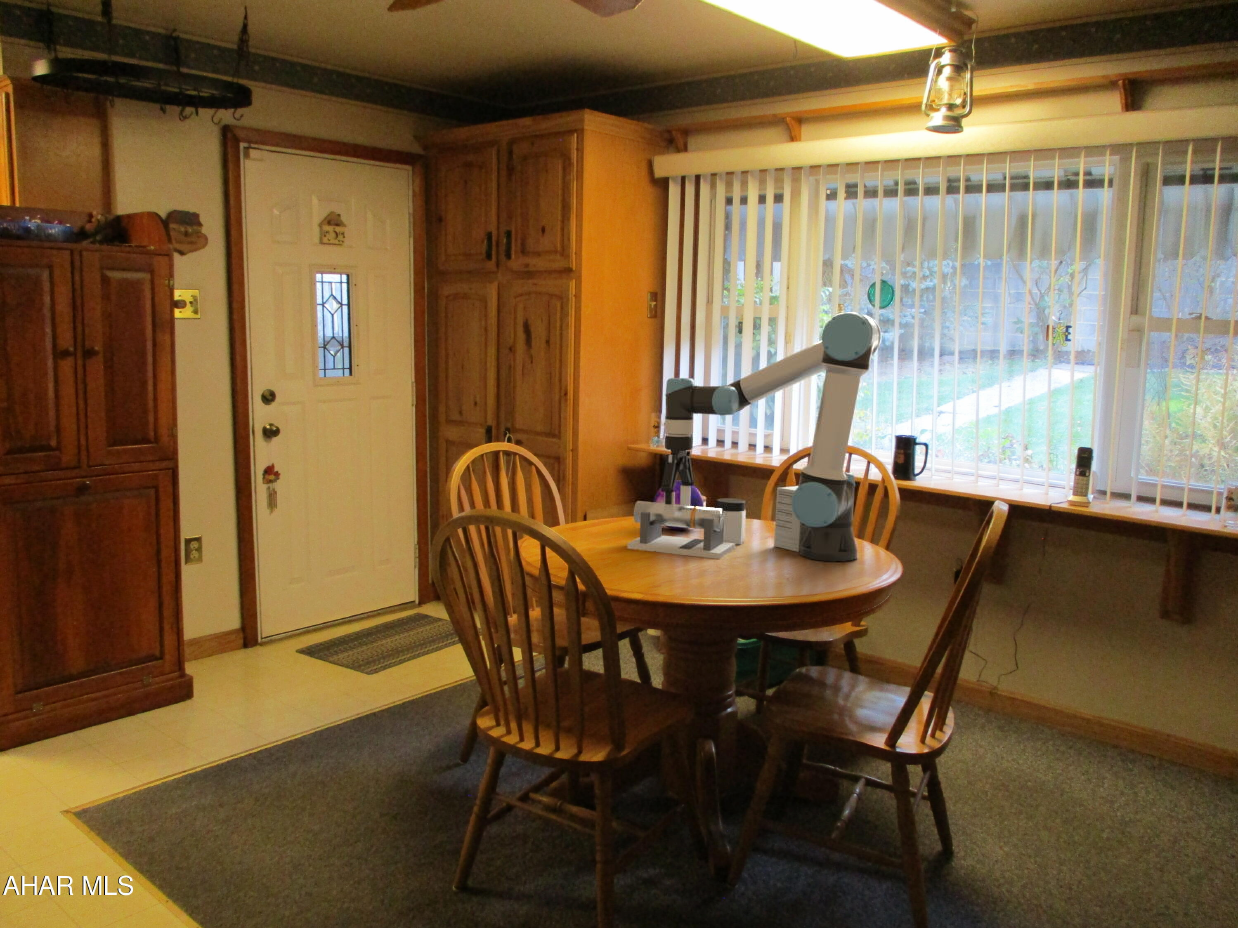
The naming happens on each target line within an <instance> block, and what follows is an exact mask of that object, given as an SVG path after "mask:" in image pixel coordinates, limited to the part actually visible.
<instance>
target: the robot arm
mask: <svg viewBox="0 0 1238 928" xmlns="http://www.w3.org/2000/svg"><path fill="white" fill-rule="evenodd" d="M881 341H882V330H881V328H880V325H879V324H878V322H877V321H876V320H875V319H874V318H872V317H871V316H869V315H867V314H862V313H859V312H856V311H844V312H842V313H838V314H836V315H834V316H833V317H831V318H830V319H829V320H828V321H827V323H825V325H824V328H823V330H822V333H821V340H820V341H817V342H816V343H813V344H812V345H808V346H807V347H805V348H803V349H800V350H799V351H796V352H794V353H793V354H790V355H789V356H785V357H783V358H782V359H780V360H778V361H776V362H774V363H771V364H769V365H768V366H765V367H763V368H761V369H758V370H757V371H754V372H753V373H750V374H748V375H746V376H744V377H742V378H740V379H737V380H735V381H733V382H731V383H729V384H726V385H715V386H714V385H712V386H711V385H708V386H707V385H695V380H694V379H693V378H690V377H689V378H686V377H671V378H668V379H667V380H666V387H665V394H664V397H665V417H664V418H665V422H663V426H664V428H665V430H664V433H665V434H666V435H665V436H664V449H665V450H667V451H670V454H665V455H666V456H665V463H664V464H665V465H664V471H663V476H662V481H661V487H660V488H661V492H664V516H670V517H674V511H675V492H673V491H674V487H675V483H676V480H678V475H679V478H680V480H681V482H682V485H684V486H681V494H680V505H687V506H690V496H691V486H695V482H694V474H693V467H692V461H691V450H692V449H693V443H694V441H693V440H694V438H693V436H692V435H693V434H694V415H711V416H712V415H714V416H715V415H716V416H721V417H722V416H732V415H734V414H735V413H738V412H741V411H742V410H743V409H745V408H746V407H749V406H750V405H752V404H754V403H756V402H758V401H761V400H763V399H765V398H768V397H769V396H771V395H774V394H776V393H778V392H781V391H783V390H785V389H788V388H789V387H791V386H793V385H796V384H798V383H800V382H802V381H805V380H807V379H809V378H811V377H813V376H815V375H816V376H817V374H820V373H823V372H824V371H825V375H824V382H823V386H822V392H821V397H820V402H819V408H818V413H817V418H816V423H815V424H816V425H815V429H814V430H815V431H814V433H813V434H814V435H813V439H812V440H813V441H812V446H811V450H810V455H809V456H810V457H809V461H808V464H807V465H806V466H804V467H802V468H801V472H800V476H799V482H798V485H797V486H798V488H797V489H796V490H795V492H794V494H793V496H792V502H791V504H792V510H793V512H794V514H795V516H796V517H797V519H798V520H799V521H800V522H802V523H803V524H805V525H807V526H808V527H807V530H806V532H805V535H804V538H803V540H802V543H801V545H800V552H799V555H800V556H802V557H804V558H807V559H811V560H816V561H823V562H836V561H841V562H847V561H846V560H852V561H854V560H853V559H855V560H857V559H858V548H857V543H856V540H855V536H854V532H853V531H854V530H853V517H854V516H853V515H854V504H855V487H856V482H855V481H856V480H855V479H856V478H855V475H854V474H853V473H850V472H845V471H844V465H845V460H846V455H847V449H848V446H849V439H850V435H851V434H850V433H851V430H852V424H853V419H854V414H855V409H856V403H857V397H858V394H859V393H858V392H859V389H860V388H859V387H860V383H861V379H862V376H863V375H865V374H866V373H867V372H869V371H870V364H871V359H872V355H874V354H875V353H876V352H877V350H878V349H879V347H880V346H881ZM856 558H857V559H856Z"/></svg>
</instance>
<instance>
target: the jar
mask: <svg viewBox="0 0 1238 928" xmlns="http://www.w3.org/2000/svg"><path fill="white" fill-rule="evenodd" d="M716 508H719V509H723V511H724V533H723V542H728V543H735V545H742V544H743V543H744V542H745V538H746V535H745V534H746V533H745V532H746V516H747V515H746V514H747V510H746V501H745V500H744V499H741V498H734V497H733V498H731V497H729V498H726V497H725V498H718V499H716Z"/></svg>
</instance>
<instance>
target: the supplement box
mask: <svg viewBox="0 0 1238 928" xmlns="http://www.w3.org/2000/svg"><path fill="white" fill-rule="evenodd" d="M798 486H799V485H795V486H785V487H784V486H783V487H780V486H779V487H777V489H776V505H775V506H776V507H775V520H774V521H775V524H774V536H773V537H774V539H773V540H774V541H773V547H776V548H780V549H786V550H789V551H794V552H798V553H800V545H801V543H802V540H803V538H804V535H805V532H806V530H807V527H808V526H807V525H805V524H803V523H802V522H800V521H799V520H798V519H797V517H796V516H795V514H794V512H793V510H792V504H791V502H792V496H793V494H794V492H795V490H796V489H797V488H798Z"/></svg>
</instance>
